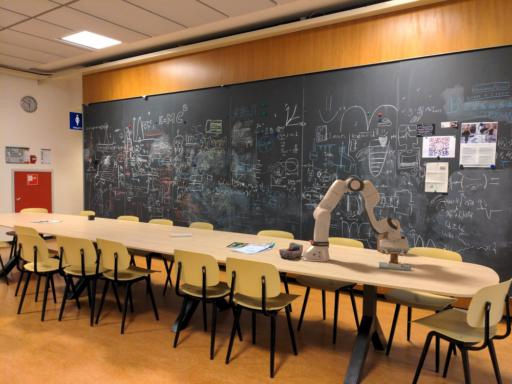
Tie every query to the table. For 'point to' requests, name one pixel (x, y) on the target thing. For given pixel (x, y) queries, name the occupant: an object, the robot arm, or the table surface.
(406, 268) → the board
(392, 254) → the pillar
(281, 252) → the cell model
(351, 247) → the table surface
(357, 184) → the robot arm
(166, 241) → the table surface
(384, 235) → the block
